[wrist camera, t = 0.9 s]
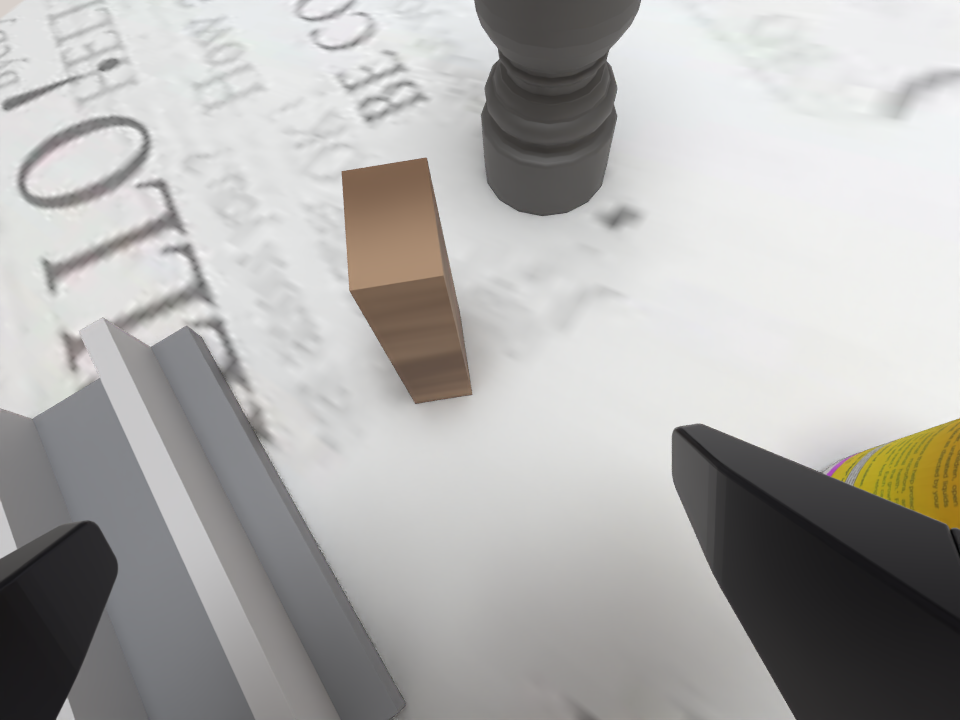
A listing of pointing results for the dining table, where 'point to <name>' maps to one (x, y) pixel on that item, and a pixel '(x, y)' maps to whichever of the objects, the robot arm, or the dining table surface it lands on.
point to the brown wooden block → (405, 276)
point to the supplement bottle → (911, 472)
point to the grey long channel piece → (187, 548)
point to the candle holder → (550, 99)
